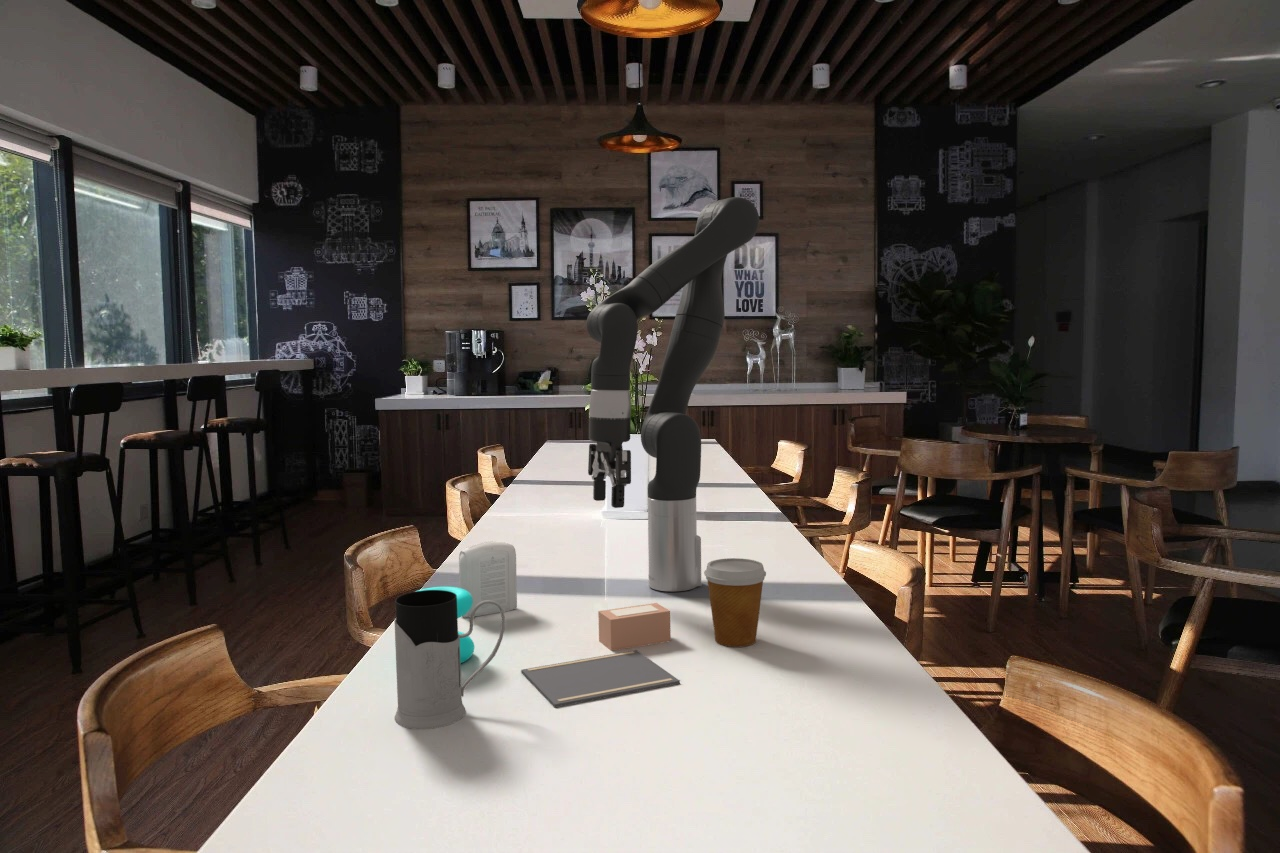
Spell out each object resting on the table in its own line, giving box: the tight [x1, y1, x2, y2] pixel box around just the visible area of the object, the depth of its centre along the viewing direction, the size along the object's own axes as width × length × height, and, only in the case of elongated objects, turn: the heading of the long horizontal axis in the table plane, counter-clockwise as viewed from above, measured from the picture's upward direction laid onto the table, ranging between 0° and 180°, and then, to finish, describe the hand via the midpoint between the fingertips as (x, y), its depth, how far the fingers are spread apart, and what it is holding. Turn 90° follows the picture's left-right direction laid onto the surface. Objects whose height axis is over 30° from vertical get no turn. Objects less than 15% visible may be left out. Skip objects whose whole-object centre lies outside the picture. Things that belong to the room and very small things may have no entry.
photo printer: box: [458, 540, 518, 619], centre depth 158 cm, size 10×4×12 cm, turn 123°
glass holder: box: [393, 590, 506, 730], centre depth 115 cm, size 9×14×15 cm, turn 112°
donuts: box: [414, 586, 475, 664], centre depth 134 cm, size 10×10×10 cm
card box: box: [597, 602, 672, 652], centre depth 141 cm, size 10×5×5 cm, turn 114°
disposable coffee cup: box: [703, 557, 767, 648], centre depth 140 cm, size 10×10×12 cm
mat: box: [520, 649, 681, 708], centre depth 126 cm, size 18×14×1 cm
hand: (608, 503), depth 165 cm, fingers open, 8 cm apart
